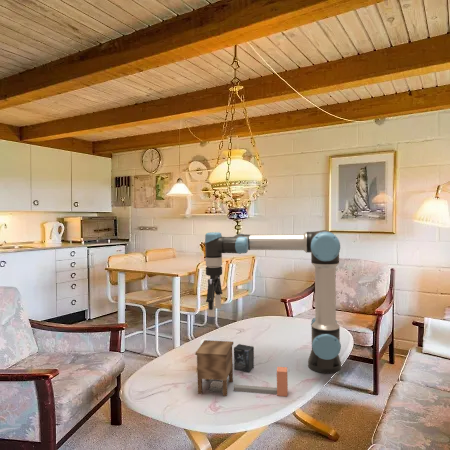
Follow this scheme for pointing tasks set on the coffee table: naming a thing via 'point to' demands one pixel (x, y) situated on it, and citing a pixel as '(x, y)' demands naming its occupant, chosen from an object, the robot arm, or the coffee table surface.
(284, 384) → the orange-headed mallet
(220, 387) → the token
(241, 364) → the box
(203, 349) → the cabinet
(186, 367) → the coffee table surface
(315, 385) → the coffee table surface
